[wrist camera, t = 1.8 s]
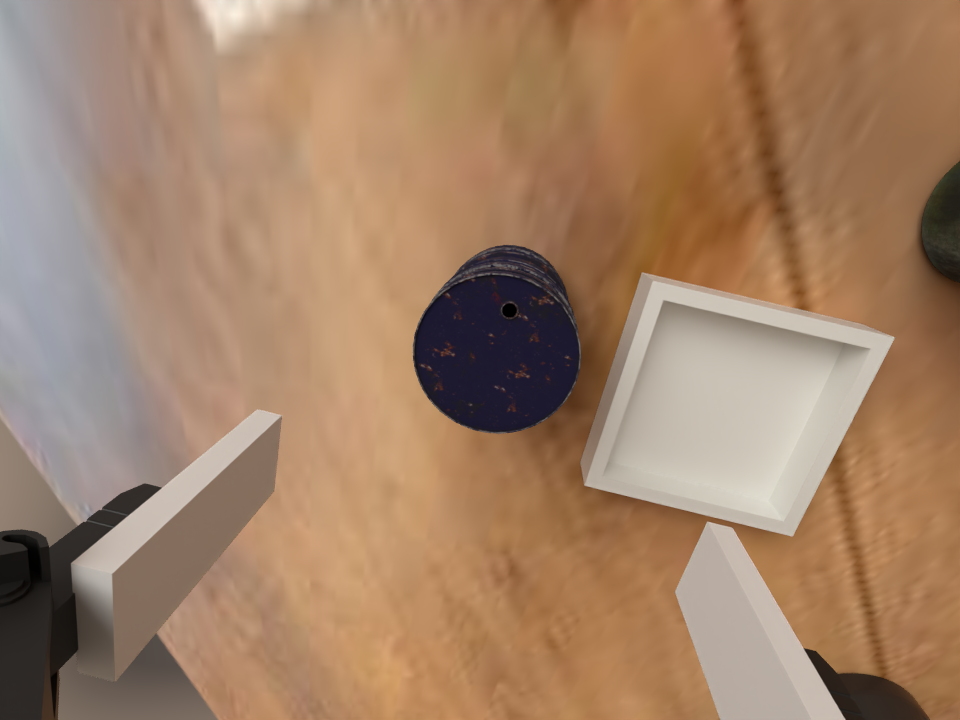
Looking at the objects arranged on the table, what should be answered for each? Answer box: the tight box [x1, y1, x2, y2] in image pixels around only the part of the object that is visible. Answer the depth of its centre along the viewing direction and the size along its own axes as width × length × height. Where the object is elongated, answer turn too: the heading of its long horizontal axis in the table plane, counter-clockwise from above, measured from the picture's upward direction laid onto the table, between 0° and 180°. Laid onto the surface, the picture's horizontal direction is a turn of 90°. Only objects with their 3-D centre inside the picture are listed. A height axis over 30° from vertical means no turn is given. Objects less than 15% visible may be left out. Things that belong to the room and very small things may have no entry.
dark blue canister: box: [413, 245, 581, 434], centre depth 36 cm, size 10×10×15 cm
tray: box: [580, 272, 895, 537], centre depth 42 cm, size 18×18×4 cm
